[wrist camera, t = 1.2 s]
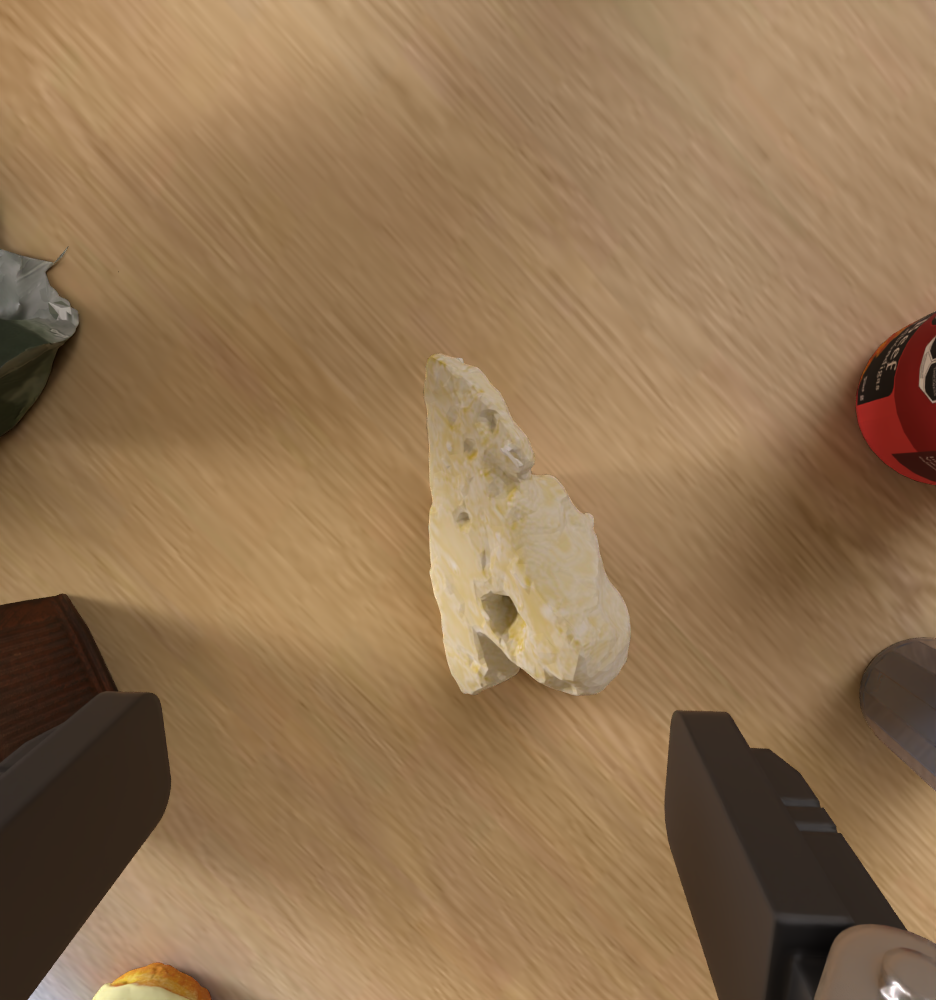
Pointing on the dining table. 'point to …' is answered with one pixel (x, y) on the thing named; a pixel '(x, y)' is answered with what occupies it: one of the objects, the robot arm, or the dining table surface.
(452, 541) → the cream rock
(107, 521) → the dining table surface
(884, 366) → the canned food
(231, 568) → the dining table surface
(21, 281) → the rose bouquet
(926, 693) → the tumbler
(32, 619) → the manual coffee grinder
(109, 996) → the decorated donut
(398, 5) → the dining table surface
